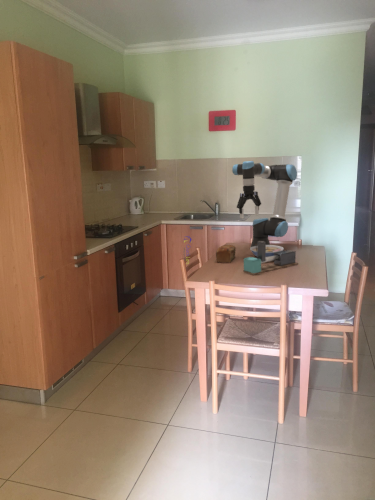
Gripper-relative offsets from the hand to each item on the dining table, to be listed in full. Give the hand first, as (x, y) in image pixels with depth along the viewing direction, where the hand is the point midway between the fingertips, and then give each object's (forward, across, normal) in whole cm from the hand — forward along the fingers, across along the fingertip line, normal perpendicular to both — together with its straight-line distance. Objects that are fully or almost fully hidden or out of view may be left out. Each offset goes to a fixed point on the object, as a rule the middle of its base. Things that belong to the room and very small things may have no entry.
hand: (249, 217), depth 263 cm
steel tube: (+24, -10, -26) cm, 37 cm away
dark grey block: (+28, +5, -26) cm, 39 cm away
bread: (+29, -13, +11) cm, 34 cm away
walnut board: (+29, -7, -26) cm, 40 cm away
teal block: (+27, -23, -25) cm, 44 cm away
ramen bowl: (+30, +9, -7) cm, 32 cm away
